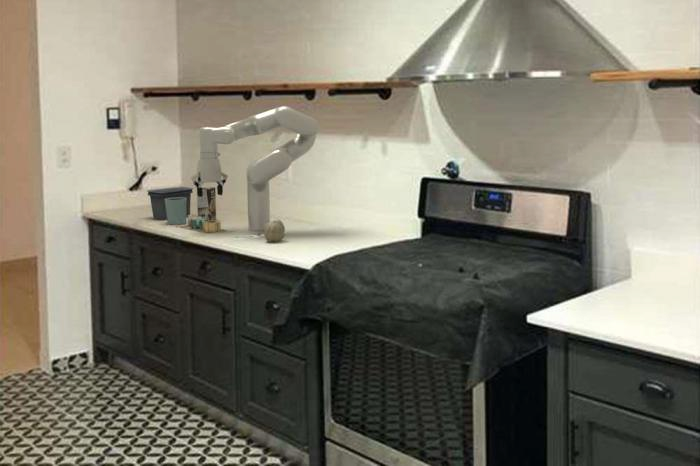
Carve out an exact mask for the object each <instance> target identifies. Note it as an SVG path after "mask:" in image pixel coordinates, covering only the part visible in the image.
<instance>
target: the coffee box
mask: <svg viewBox="0 0 700 466" xmlns="http://www.w3.org/2000/svg"><path fill="white" fill-rule="evenodd" d="M202 189H203V196H202V197H199V196H198V195H197V194H196V201H197V202H196V206H197V217H202V218H206V219H208V221H217V201H216V200H217V199H216V198H217V196H216V194H217V192H216V187H214V186H213V187H202Z"/></svg>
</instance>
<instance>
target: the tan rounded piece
mask: <svg viewBox="0 0 700 466" xmlns="http://www.w3.org/2000/svg"><path fill="white" fill-rule="evenodd" d="M285 227H286V226H285V225H284V222H282V220H280V219H275V220H273V221H271V220H270V222H269V223H268V224H267V225H266V226H265V228H264V231H262V232H261V233H262V234H261V235H263V236H264V238H265V239H266V241H267V242H268V243H279V242H280V241H282V240H283V239H284V238H285V237H286V234H285V232H286V228H285Z"/></svg>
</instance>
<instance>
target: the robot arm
mask: <svg viewBox="0 0 700 466" xmlns="http://www.w3.org/2000/svg"><path fill="white" fill-rule="evenodd" d="M280 128H285V129H287V130H289V131H291V132H294V133H295V134H296V133H297V134H296V135H295V136H294V137H293V138H291V139H290V140H289V141H287V142H285V143H284V144H282V145H280V146H278V147H276V148H274V149H273V150H271V151H270V153H268V154H266V155H265V156H264V157H262V158H261V159H256V160H253V161H251V162H250V163H249V164H248V165H247V167H246V173H245V174H246V184H247V185H246V191H247V220H248V221H247V222H248V225H247V226H248V231H252V232H261V233H259V235H263V234H262V233H263V232H264V228H265V226H266V225H267V224H268V223H269V222H271V210H270V208H271V206H270V180H273V178H276V177H277V176H278V175H281V174H282V173H284V172H285V171H286V170H288V169H289V168H290V167H291V165H292V163H293V162H294V161H296V160H298V159H299V158H301V157H302V156H304V155H305V154H307V153H308V152H309V151H310V150H311V149H312V147H313V146H314V144H315V143H316V140H317V139H316V137H317V134H318V133H319V131H320V124H319V123H318V120H317V119H315V118H313V117H311V116H308V115H307V114H303V113H302V112H299V111H297V110H296V109H294V108H291V107H289V106H287V105H283V106H279V107H275V108H272V109H269V110H266V111H263V112H259V113H257V114H254V115H251V116H249V117H247V118H245V119H242V120H238V121H236V122H233V123H230V124H227V125H224V126H222V127H221V126H220V127H214V126H202V127H200V128H199V131H198V132H199V134H198V136H199V158H198V160H197V166H196V174H195V175H193V176H192V177H191V178H190V180H191V182H192V184H193V185H194V186H195V187H196V196H197V195H198V196H199V197H202V196H203V189H202V188H203V187H202V186H203V184H209V183H210V184H211V183H216V184H217V187H216V189H217V192H216V194H217V195H218V196H223V193H224V189H223V187H224V186H225V184H226V182H227V179H228V178H229V177H228V175H227V174H226V173H224V172H222V167H221V161H220V159H219V157H221V152H219V151H218V150H219V148H218V145H219V144H220V145H230V144H232V143H234V142H235V141H239V140H241V139H243V138H248V137H251V136H259V135H263V134H266V133H267V132H272V131H274V130H278V129H280Z"/></svg>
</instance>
